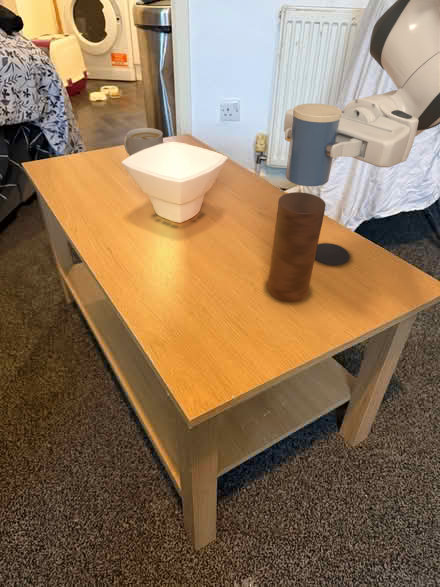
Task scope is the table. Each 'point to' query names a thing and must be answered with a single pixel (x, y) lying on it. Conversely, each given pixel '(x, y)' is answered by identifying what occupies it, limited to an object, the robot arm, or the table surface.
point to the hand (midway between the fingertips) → (308, 143)
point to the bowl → (175, 177)
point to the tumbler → (311, 143)
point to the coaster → (331, 254)
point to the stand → (295, 245)
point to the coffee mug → (142, 139)
